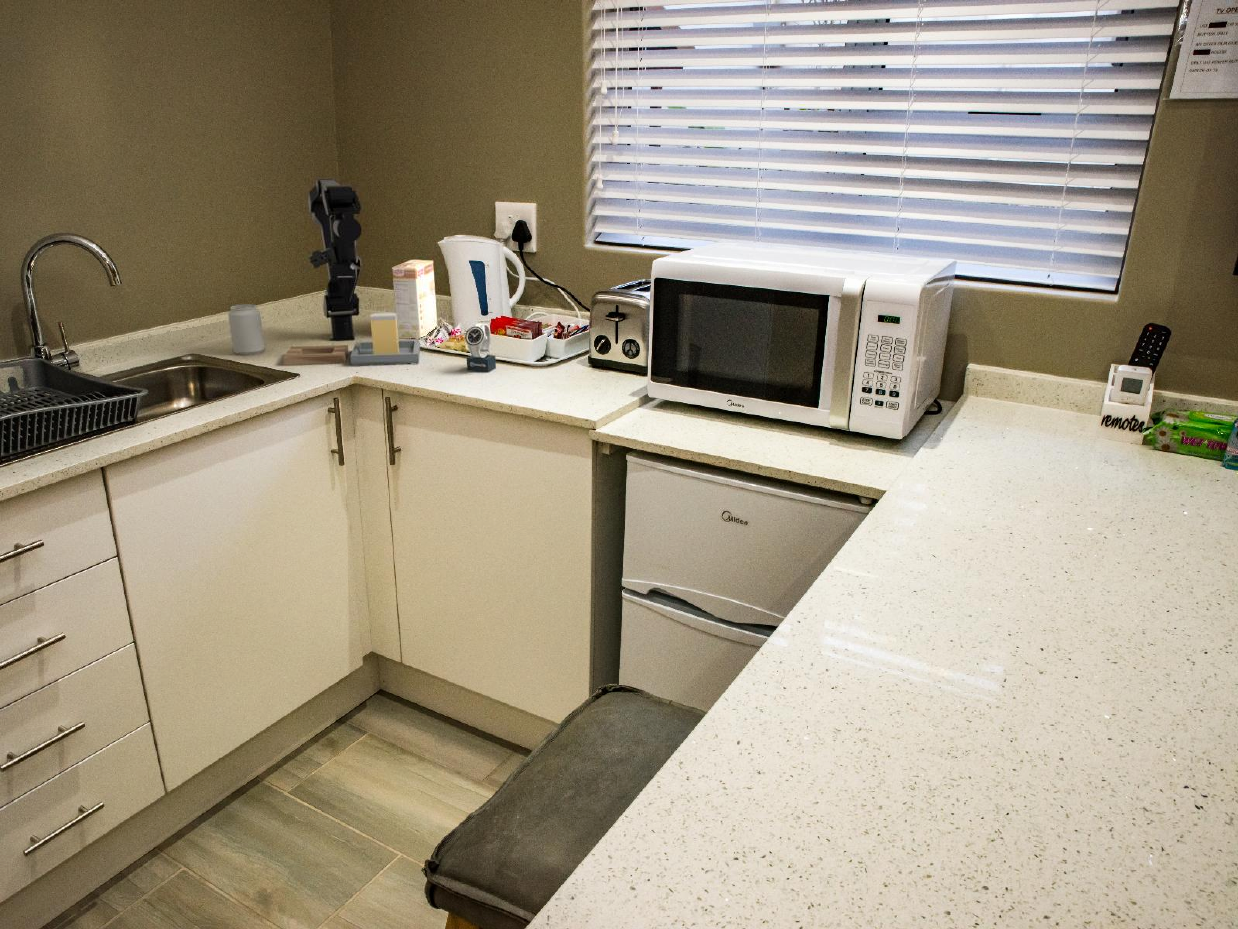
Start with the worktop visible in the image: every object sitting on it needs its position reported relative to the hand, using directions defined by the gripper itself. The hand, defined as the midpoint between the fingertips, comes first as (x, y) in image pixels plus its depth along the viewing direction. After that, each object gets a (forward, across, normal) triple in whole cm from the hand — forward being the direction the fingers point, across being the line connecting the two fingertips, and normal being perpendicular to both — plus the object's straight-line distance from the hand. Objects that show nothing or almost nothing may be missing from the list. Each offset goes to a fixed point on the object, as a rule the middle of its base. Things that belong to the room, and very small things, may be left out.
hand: (349, 299), depth 237 cm
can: (+13, -1, -26) cm, 29 cm away
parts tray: (+13, +10, +9) cm, 19 cm away
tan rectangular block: (+12, +10, +9) cm, 18 cm away
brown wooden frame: (+13, +9, -8) cm, 18 cm away
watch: (+13, +26, +32) cm, 43 cm away
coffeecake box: (+13, -18, +16) cm, 27 cm away
